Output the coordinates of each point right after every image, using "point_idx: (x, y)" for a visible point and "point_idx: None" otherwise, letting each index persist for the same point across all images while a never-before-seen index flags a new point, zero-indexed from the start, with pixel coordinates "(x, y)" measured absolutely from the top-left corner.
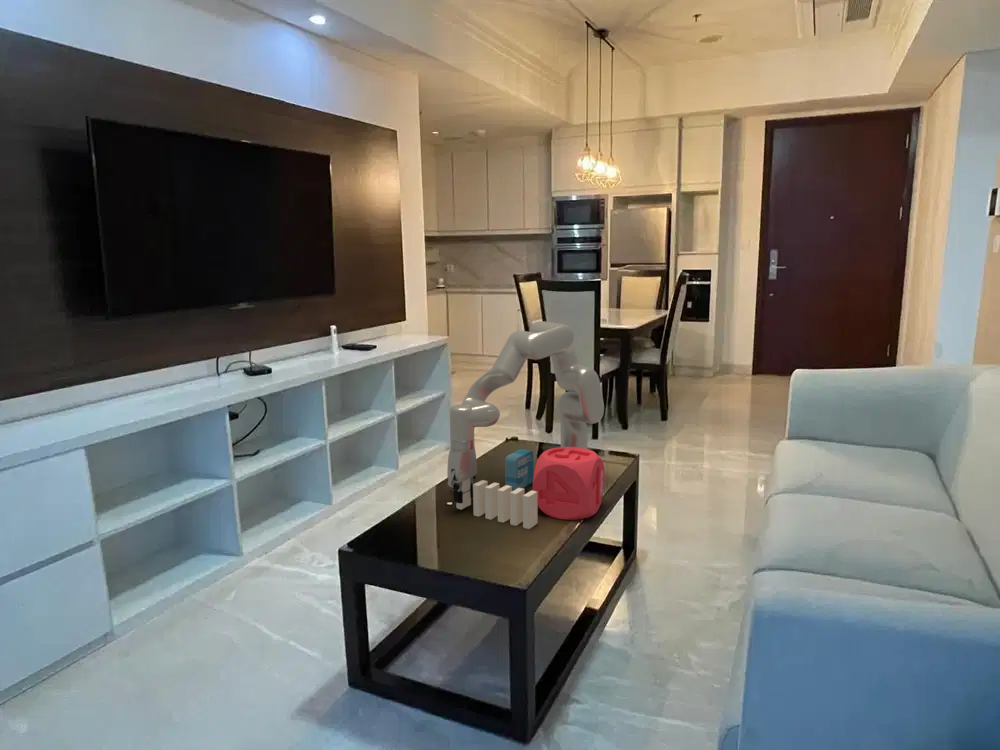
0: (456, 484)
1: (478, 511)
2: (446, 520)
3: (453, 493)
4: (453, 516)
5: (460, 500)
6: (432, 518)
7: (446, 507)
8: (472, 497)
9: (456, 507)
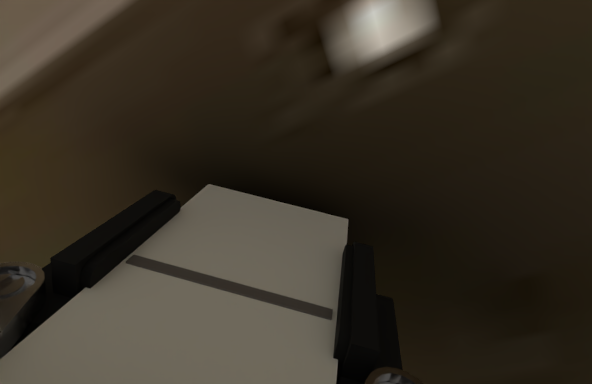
0: (2, 370)
1: None
2: (41, 172)
3: (94, 229)
4: (123, 192)
5: None
6: (7, 48)
7: (261, 48)
8: None
9: (206, 186)
